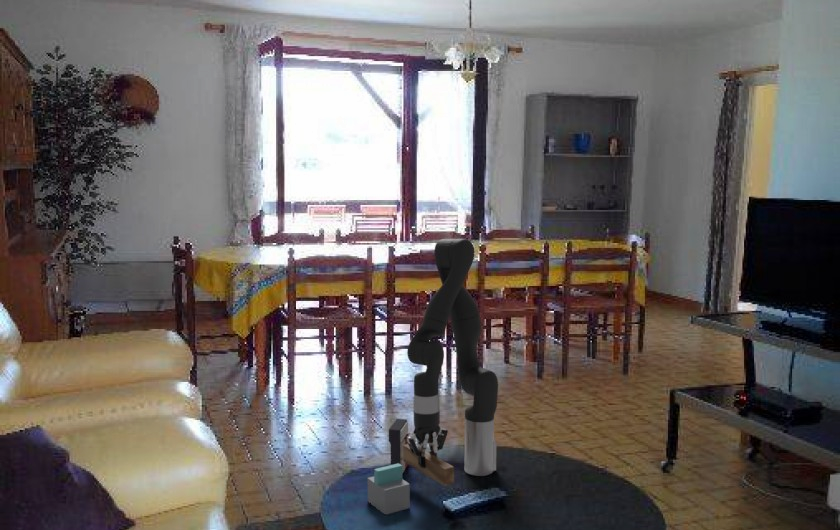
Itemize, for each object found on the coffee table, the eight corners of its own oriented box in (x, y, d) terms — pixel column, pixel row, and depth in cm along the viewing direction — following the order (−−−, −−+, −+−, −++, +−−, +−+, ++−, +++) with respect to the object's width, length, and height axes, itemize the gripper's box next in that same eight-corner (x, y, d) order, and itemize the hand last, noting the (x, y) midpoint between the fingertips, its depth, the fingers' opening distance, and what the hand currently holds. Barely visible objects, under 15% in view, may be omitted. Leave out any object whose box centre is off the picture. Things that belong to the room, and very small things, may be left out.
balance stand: (391, 495, 211) (391, 458, 209) (409, 507, 202) (409, 470, 201) (367, 501, 206) (367, 464, 205) (384, 514, 198) (384, 476, 197)
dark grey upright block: (402, 477, 223) (402, 430, 222) (388, 476, 224) (388, 429, 223) (409, 463, 234) (409, 419, 233) (396, 462, 235) (396, 418, 233)
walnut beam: (411, 458, 220) (411, 443, 219) (454, 483, 202) (453, 466, 201) (403, 461, 218) (403, 445, 218) (445, 486, 200) (445, 469, 200)
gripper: (439, 401, 215) (440, 456, 217) (399, 410, 207) (400, 467, 209) (453, 407, 208) (454, 464, 211) (413, 417, 201) (414, 476, 203)
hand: (427, 465), depth 210 cm, fingers closed on walnut beam, 3 cm apart
